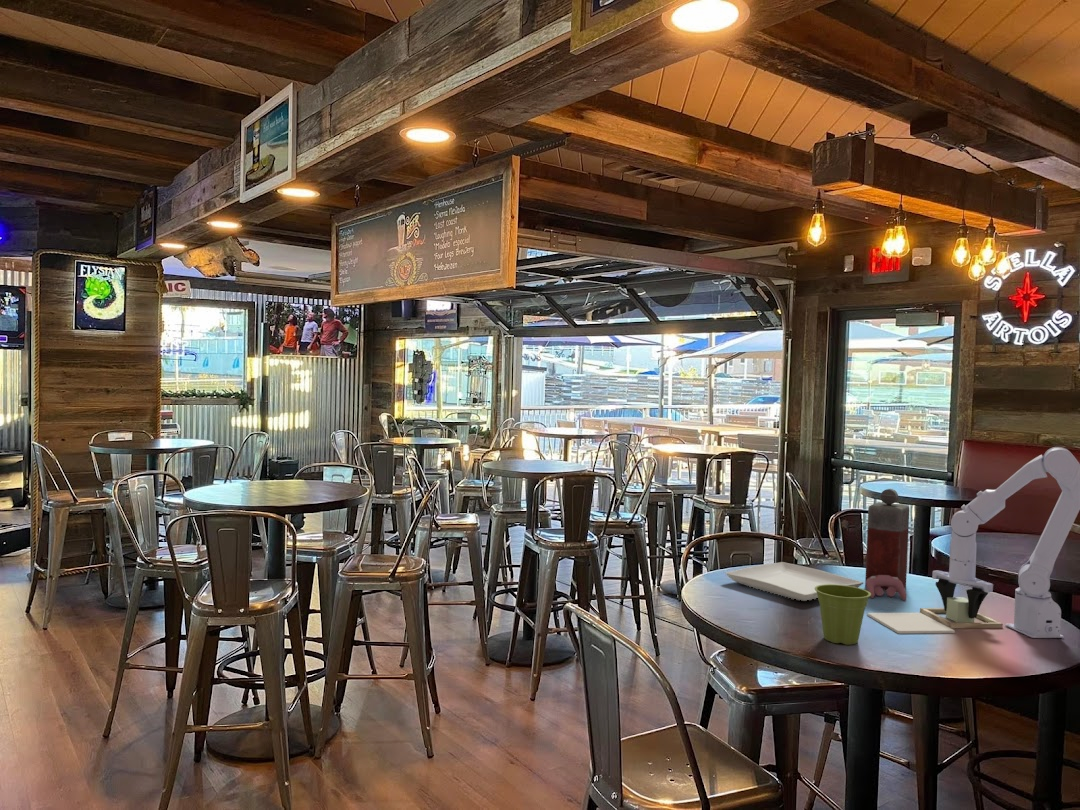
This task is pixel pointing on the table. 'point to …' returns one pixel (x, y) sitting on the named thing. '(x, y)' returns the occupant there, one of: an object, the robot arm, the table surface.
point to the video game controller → (885, 580)
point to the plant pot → (842, 612)
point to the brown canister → (887, 538)
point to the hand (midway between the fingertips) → (960, 614)
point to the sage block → (958, 610)
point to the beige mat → (910, 623)
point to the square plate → (789, 579)
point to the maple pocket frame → (990, 624)
